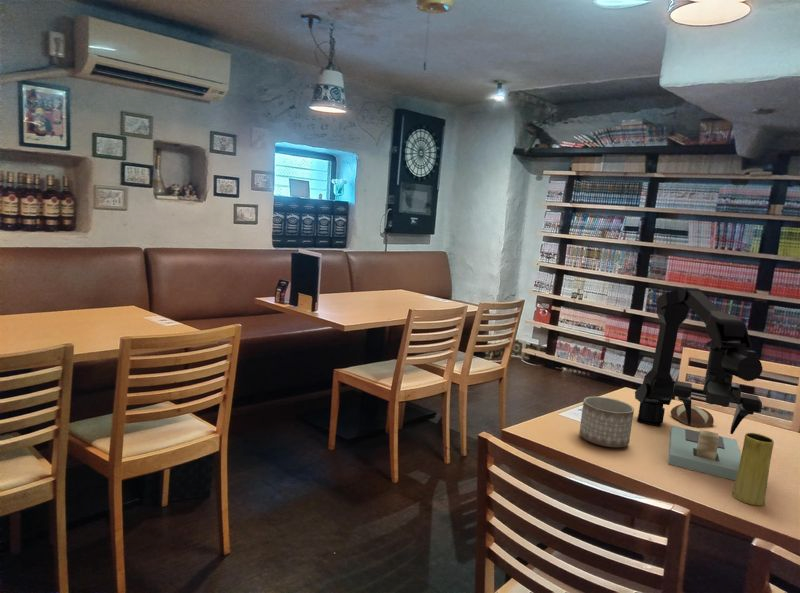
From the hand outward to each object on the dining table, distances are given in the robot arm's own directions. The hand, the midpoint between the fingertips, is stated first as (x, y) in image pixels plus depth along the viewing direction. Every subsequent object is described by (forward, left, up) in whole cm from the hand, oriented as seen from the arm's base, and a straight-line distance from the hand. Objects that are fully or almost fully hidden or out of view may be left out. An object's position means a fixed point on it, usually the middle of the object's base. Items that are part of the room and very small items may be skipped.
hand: (709, 429), depth 134 cm
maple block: (0, 0, -9) cm, 9 cm away
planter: (-24, -1, -10) cm, 26 cm away
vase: (+8, -15, -9) cm, 19 cm away
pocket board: (0, +6, -9) cm, 11 cm away
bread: (-2, +35, -10) cm, 36 cm away
